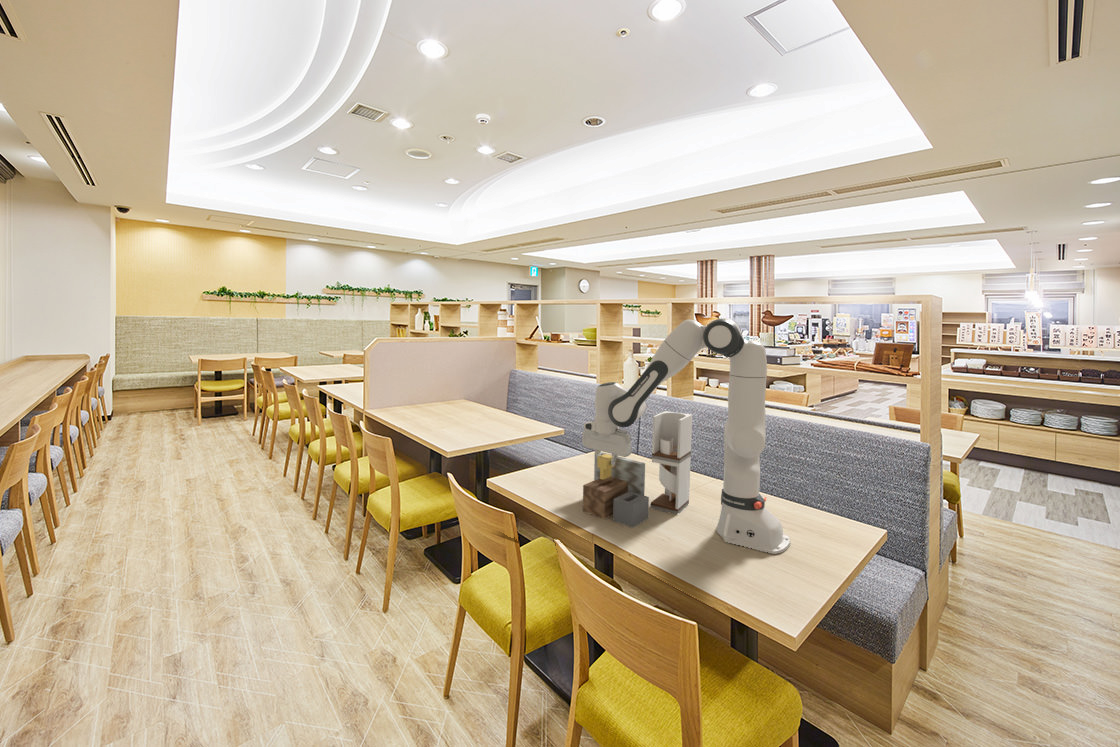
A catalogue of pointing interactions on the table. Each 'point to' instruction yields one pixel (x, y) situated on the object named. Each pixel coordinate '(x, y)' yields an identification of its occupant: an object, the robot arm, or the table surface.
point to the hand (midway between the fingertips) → (606, 463)
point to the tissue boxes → (613, 486)
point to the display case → (672, 459)
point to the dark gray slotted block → (630, 509)
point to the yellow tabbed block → (604, 466)
